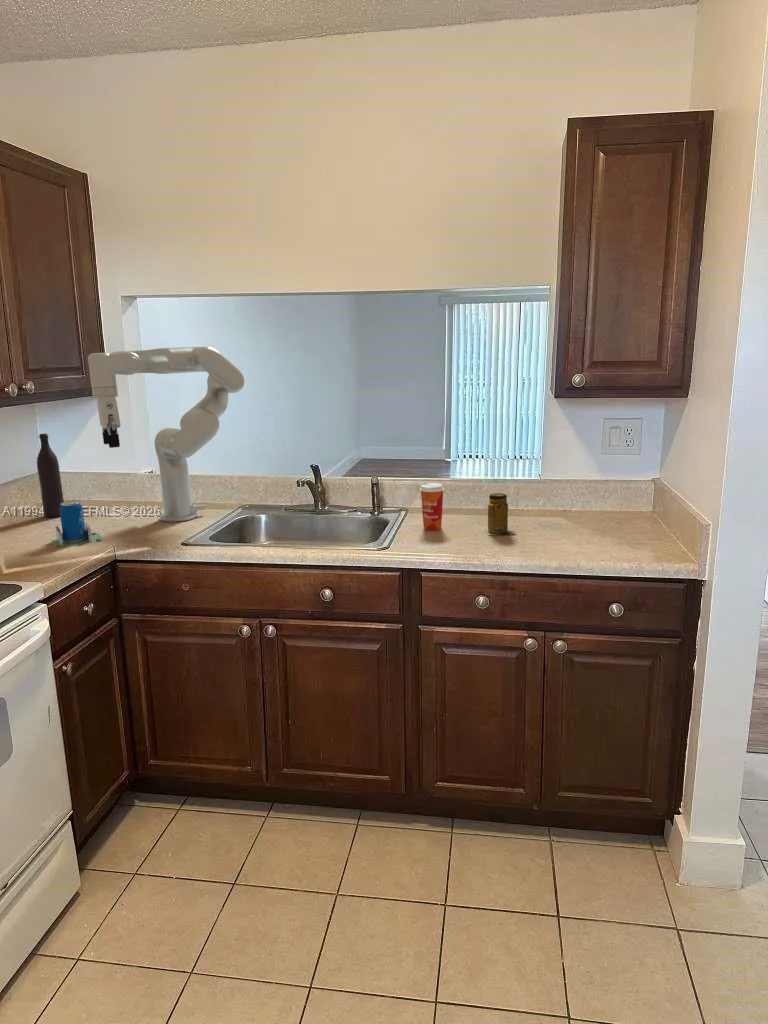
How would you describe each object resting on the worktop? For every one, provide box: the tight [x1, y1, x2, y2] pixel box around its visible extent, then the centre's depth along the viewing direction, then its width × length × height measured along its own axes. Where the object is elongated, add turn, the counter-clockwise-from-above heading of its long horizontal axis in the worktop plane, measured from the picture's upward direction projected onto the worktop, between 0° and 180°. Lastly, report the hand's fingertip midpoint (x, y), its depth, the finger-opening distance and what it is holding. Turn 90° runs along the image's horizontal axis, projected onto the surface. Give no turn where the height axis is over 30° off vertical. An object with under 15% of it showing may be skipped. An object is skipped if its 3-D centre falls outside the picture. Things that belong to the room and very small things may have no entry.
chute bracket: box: [55, 521, 92, 546], centre depth 221 cm, size 9×9×4 cm
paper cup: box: [419, 482, 445, 531], centre depth 226 cm, size 8×8×14 cm
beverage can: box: [59, 500, 86, 543], centre depth 221 cm, size 6×6×12 cm
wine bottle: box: [36, 433, 65, 519], centre depth 257 cm, size 7×7×30 cm
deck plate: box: [51, 532, 105, 550], centre depth 223 cm, size 14×12×1 cm
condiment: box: [485, 492, 517, 536], centre depth 219 cm, size 7×8×12 cm
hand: (111, 445), depth 232 cm, fingers open, 9 cm apart
